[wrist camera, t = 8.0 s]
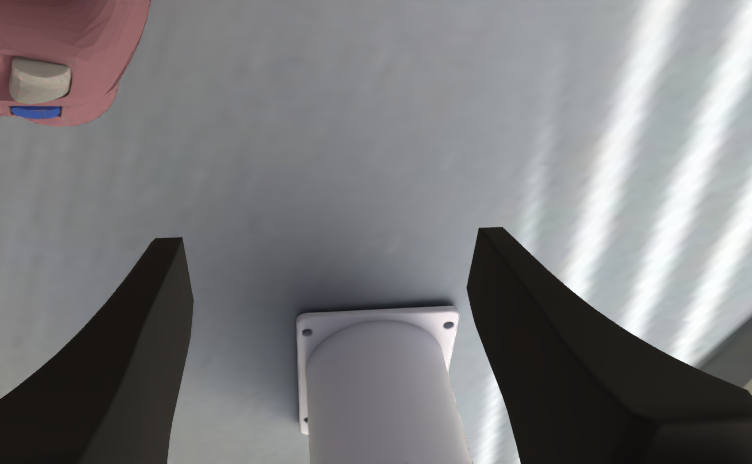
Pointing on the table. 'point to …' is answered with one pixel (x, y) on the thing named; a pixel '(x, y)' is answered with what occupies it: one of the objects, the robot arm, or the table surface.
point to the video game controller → (65, 56)
